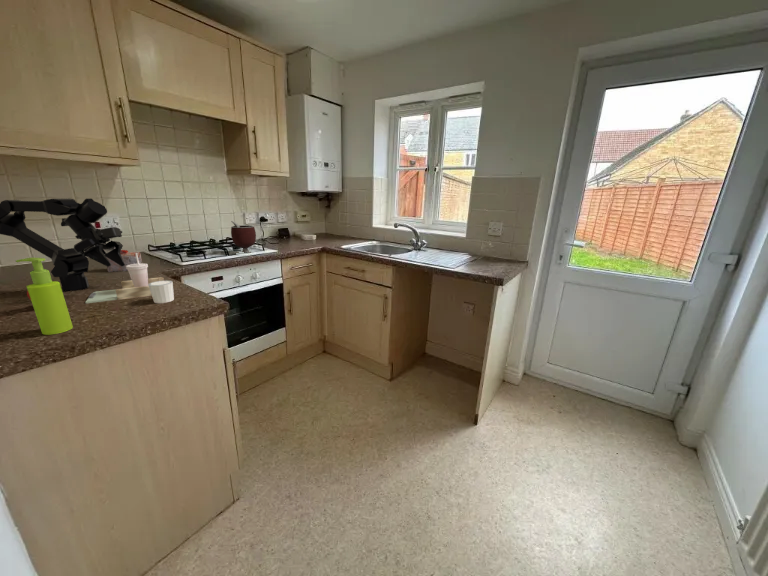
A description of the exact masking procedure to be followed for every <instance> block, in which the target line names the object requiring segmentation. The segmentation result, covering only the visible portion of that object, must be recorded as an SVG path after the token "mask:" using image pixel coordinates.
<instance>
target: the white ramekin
mask: <svg viewBox="0 0 768 576" xmlns="http://www.w3.org/2000/svg"><path fill="white" fill-rule="evenodd" d="M148 285H149V288H150V291H151V294H152V296H151V297H152V300H153V302H154V303H155V304H166V303H170V302H172V301H174V300H175V296H174V295H175V294H174V283H173V280H167V279H165V280H164V281H156V282H152V283H150V284H148Z"/></svg>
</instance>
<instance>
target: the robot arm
mask: <svg viewBox="0 0 768 576" xmlns="http://www.w3.org/2000/svg"><path fill="white" fill-rule="evenodd" d="M11 212H12V213H11ZM13 212H14V213H13ZM25 212H32V213H33V212H34V213H46V214H48V215H53V216H58V217H59V216H62V217H63V216H67V217H64V218H61V222H60V227H69V228H70V229H71V230H72V232H74V234H75V236H74V237H75V238H76V239H77V240H81V241H79V242H77V243H76V244H74V245H73V247H71V248H63V247H60V246H59V245H57V244H55V243H54V242H53V241H50V240H48V239H47V238H45V237H44V236H42V235H40V234H38V233H36V232H35V231H33V230H31V229H30V228H28V227H27V225H26V222H25V220H26V218H27V217H26V215H25ZM107 214H108V210H107V207H105V205H102V204H101V203H99V202H98V201H95V200H94V199H93V198H90V197H89V198H85V199H84V200H83V201H82V202H81V203H80V202H77V201H76V200H75V199H74V198H50V199H49V198H48V199H44V200H21V199H5V200H1V201H0V235H2V236H7V237H11V238H15V240H18V241H20V242H21V243H23V244H25V245H26V246H28V247H30V248H32V249H33V250H35V251H38V252H39V253H41V254H42V255H44V256H46V257H48V258H49V259H51V262H52V264H53V267H52V269H51V270H50V274H52V276H53V277H54V278H59V281H60V286H61V289H62V292H63V293H67V292H74V291H75V292H76V291H85V290H86V289H88V288H89V287H90V284H89V279H88V276H87V275H85V273H88V272H89V264H90V263H89V262H90V261H89V259H91V260H94V261H96V263H97V262H98V263H100V264H101V265H103V266H105V267H106V268H107V267H109V266H111V264H110V262H109V260H108V259H107V258H109V259H111V260H112V261H114V262H115V263H117V264H119V265H120V266H124V265H125V263H124V261H123V259H122V256H121V254H120V251H121V250H123V247H124V245H123V244H122V243H121V242H120V241H117V240H111V239H113V238H114V239H115V238H122V237H123V235H122V233H123V231H122V230H121V229H120V228H119V227H116V226H113V227H107V228H106V227H105V228H101V229H100V228H96V227H95V226H94V225H93V224H95V223H97V222H98V221H100V220H101V219H102V218H103V217H104V216H106V215H107ZM106 257H107V258H106ZM88 258H89V259H88Z"/></svg>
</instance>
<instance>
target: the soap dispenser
mask: <svg viewBox="0 0 768 576" xmlns="http://www.w3.org/2000/svg"><path fill="white" fill-rule="evenodd" d="M45 261H46V258H44V257H25V258H19V259H16V260H15V262H16V263H21V262H28V263H29V262H31V265H32V268H33V270H32V271H30V272H29V274H30V278H31V281H32V283H31V284H29V285H26V286H27V287H26V289H27V291H28V292H29V295H30V298H31V300H30V301H31V303H32V307H33V309H34V310H33V311H34V314H35V316H36V319H37V322H38V325H39V328H40V331H41V334H42V335H45V336H49V335H58V334H61V333H65V332H67V331H70V330H72V329H73V327H74V326H73V322H72V320H71V315H70V313H69V309H68V306H67V303H66V299H65V296H64V292H62V291H63V288H62V285H61V282H59V281H58V280H56V281H53V280H52V276H51V271H49V269H46V268H44V266H43V263H42V262H45Z"/></svg>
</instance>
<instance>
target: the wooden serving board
mask: <svg viewBox="0 0 768 576" xmlns="http://www.w3.org/2000/svg"><path fill="white" fill-rule="evenodd" d="M156 281H165V280H164V276H160V277H151V278H148V284H150V283H152V282H156ZM120 284H121V287H122V288H118V289H117V288H116V294H117V298H118V299H117V300H125V299H135V298H144V297H150V296H151V297H152V294H151V291H150V288H149V285H148V286H142V287H134V284H133V282H132V279H130V280H123V281H122V280H121V281H120Z"/></svg>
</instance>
